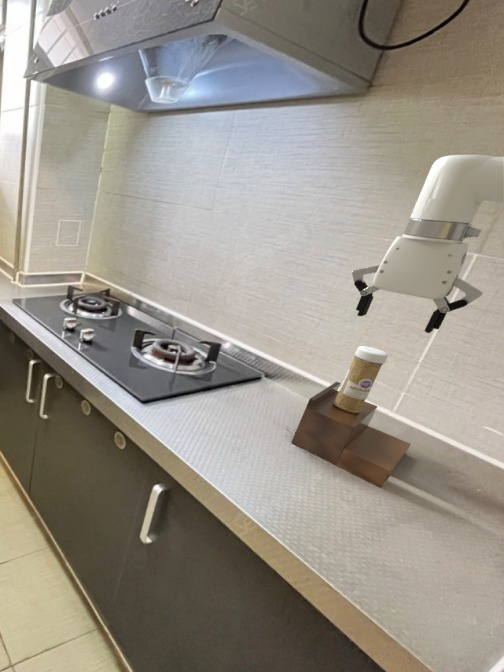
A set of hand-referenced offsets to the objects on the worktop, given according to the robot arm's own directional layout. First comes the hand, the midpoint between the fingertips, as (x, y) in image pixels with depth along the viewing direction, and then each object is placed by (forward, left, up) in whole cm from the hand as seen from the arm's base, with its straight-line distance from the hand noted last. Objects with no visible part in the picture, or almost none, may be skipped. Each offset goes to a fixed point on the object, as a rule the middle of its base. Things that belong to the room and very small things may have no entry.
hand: (393, 322), depth 74 cm
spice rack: (-2, +1, -28) cm, 28 cm away
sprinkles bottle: (+1, +1, -20) cm, 20 cm away
